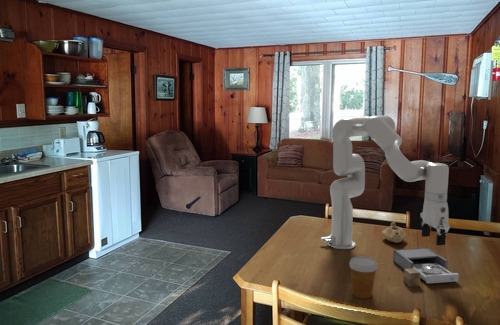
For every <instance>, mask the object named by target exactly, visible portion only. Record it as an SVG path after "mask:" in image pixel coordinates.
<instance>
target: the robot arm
mask: <svg viewBox="0 0 500 325" xmlns="http://www.w3.org/2000/svg"><path fill="white" fill-rule="evenodd" d="M395 123H396V122H395V120H394V119H393V118H392V117H391V116H389V115H373V116H354V117H344V118H342V119H340V120H337V122H335V124H334V125H333V127H332V132H331V135H332V145H333V150H332V152H333V154H332V155H333V156H332V159H333V160H332V161H333V162H332V164H333V165H332V166H333V167H332V168H333V171H334V173H335V175H337V176H340V177H343V178H339V179H335V180H334V181H333V182H331V184H330V186H329V193H330V201H331V229H330V230H331V233H330V234H329V236H323V237H320V241H321V242H325V243H327V245H328V246H329V247H330V246H331V248H332V247H333V249H336V250H337V249H338V250H352V249H353V248H355V247H356V242H355V241H353V224H354V223H353V222H354V221H353V212H354V211H353V210H354V208H353V204H352V201H351V199H352V198H357V197H359V196H362V194H363V193H364V191H365V187H366V186H365V185H366V165H365V161H364V159H363V157H362V156H361V155H360V154H357V153H353V144H352V141H351V139H350V138H352V137H353V138H354V137H363V136H365V137H366V136H368V137H370V139H371V140H373V141H374V143H376V144H377V146H379V148H380V149H381V150H382V151H383V152H384V156H385V159H386V162H387V164H388V166H389V168H390V169H391V170H392V171H393V172H394V173H395V175H397V177H398V178H400V180H403V181H404V182H409V183H411V182H412V183H413V182H417V181H423V180H425V185H424V186H425V187H424V199H423V200H424V202H423V205H422V207H423V208H422V212H420V221H421V237H426V238H427V237H430V236H431V227H432V228H434V229H436V233H437V234H436V243H435V245H437V246H445V245H446V239H447V238H446V237H447V235H448V233H449V230H450V228H451V226H450V224H449V205H448V202H447V201H448V187H449V172H450V171H449V170H450V169H449V166H448V164H446V163H440V162H432V161H431V162H430V161H428V160H424V159H423V160H422V159H420V160H413V161H411V160H409V159H408V158H407V157H406V156H405V155H404V154H403V153H402V151H401V149H400V147H401V145H402V142H403V139H402V136H400V134H398V133H397V132H396V131H395V129H396V124H395ZM344 176H347V177H344Z"/></svg>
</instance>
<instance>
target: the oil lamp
mask: <svg viewBox="0 0 500 325" xmlns="http://www.w3.org/2000/svg"><path fill="white" fill-rule="evenodd" d="M381 235H382V236H383V237H384V238H385V239H386V240H387V241H388V242H391V243H396V244H397V243H398V244H399V243H400V242H402V241H403V240H404V239H406V238H407V233H406V231H405V230H403V228H402V227H400V226H397V225H396V222H395V221H392V222H391V223H390V226H388V227H386V228H384V229H382V232H381Z"/></svg>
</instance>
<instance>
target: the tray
mask: <svg viewBox="0 0 500 325" xmlns="http://www.w3.org/2000/svg"><path fill="white" fill-rule="evenodd" d="M426 264H434V265H437V266H439V267H441V274H435V275H427V274H425V273H423V272H422V271H421V266H422V265H423V264H414V266H413V268H415V269H416V270H417V271H419V272H420V279H422V280H423V281H424V282H425V283H426V284H441V283H442V284H443V283H454V282H459V277H460V276H459V275H460V274H459V273H458V272H451V271H450V270H448V268H447V269H445V268H444V267H442V266H441V265H439V264H438V263H426Z"/></svg>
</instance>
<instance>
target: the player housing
mask: <svg viewBox="0 0 500 325" xmlns="http://www.w3.org/2000/svg"><path fill="white" fill-rule="evenodd" d="M392 255H393V256H392V258H393V259H392V262H393V263H395V264H396V265H397V266H398V267H400V269H403V270H404V269H410V268H413V266H414V264H426V263H438V264H439V265H441V266H442V267H444V268H445V269H447V270H448V259H446V258H445V257H443V256H441V255H440V254H438V253H436V252H435V251H433V250H431V249H430V248H428V247H417V248H403V249H393V254H392Z"/></svg>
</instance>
